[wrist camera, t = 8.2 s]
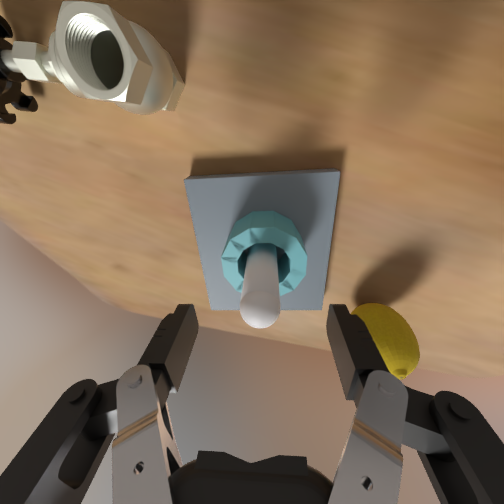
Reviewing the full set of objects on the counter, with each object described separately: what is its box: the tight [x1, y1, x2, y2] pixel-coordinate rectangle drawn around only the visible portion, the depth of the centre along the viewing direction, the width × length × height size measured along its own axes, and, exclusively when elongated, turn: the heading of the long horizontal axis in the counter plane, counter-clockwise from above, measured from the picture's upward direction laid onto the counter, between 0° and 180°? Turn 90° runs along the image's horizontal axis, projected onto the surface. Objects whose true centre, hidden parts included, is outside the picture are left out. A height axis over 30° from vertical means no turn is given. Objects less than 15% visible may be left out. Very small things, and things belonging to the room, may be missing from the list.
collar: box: [221, 211, 307, 296], centre depth 18 cm, size 6×6×4 cm
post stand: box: [184, 168, 340, 328], centre depth 17 cm, size 12×14×10 cm
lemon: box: [351, 303, 420, 379], centre depth 21 cm, size 6×6×8 cm
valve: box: [0, 1, 185, 124], centre depth 13 cm, size 7×7×12 cm
